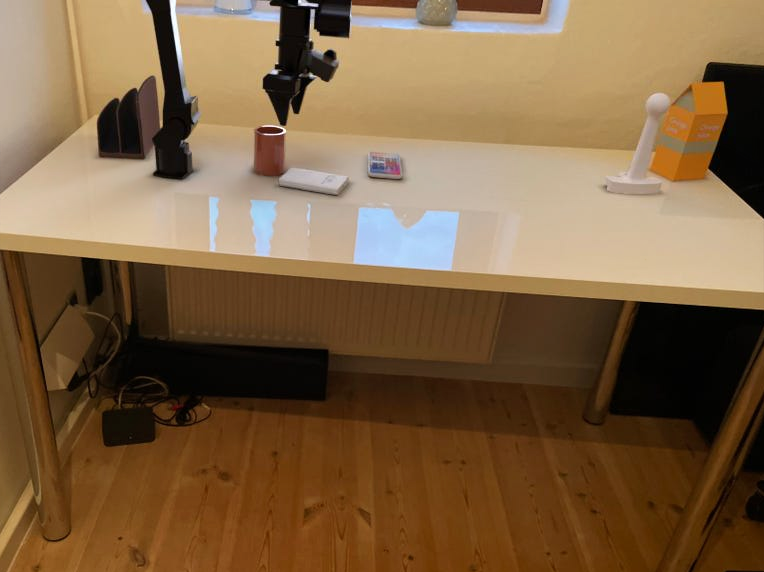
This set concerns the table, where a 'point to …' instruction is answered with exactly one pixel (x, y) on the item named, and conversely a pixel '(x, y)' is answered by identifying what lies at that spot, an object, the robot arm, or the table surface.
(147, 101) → the letter holder
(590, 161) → the table surface
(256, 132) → the cup
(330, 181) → the hard drive
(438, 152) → the table surface
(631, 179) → the joystick
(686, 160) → the orange juice
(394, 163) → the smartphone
